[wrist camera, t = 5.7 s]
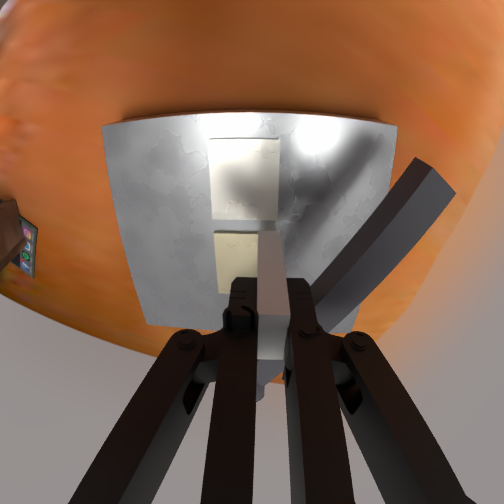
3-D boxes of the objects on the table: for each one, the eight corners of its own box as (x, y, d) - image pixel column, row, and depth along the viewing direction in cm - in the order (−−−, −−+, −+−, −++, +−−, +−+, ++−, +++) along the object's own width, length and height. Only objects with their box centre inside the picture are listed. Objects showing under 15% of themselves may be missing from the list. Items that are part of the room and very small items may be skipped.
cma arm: (250, 385, 20) (249, 407, 18) (212, 372, 19) (208, 395, 18) (444, 187, 11) (466, 204, 9) (402, 146, 10) (424, 158, 9)
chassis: (122, 119, 17) (61, 141, 11) (380, 120, 16) (433, 140, 10) (157, 303, 26) (133, 361, 20) (344, 310, 26) (359, 373, 19)
